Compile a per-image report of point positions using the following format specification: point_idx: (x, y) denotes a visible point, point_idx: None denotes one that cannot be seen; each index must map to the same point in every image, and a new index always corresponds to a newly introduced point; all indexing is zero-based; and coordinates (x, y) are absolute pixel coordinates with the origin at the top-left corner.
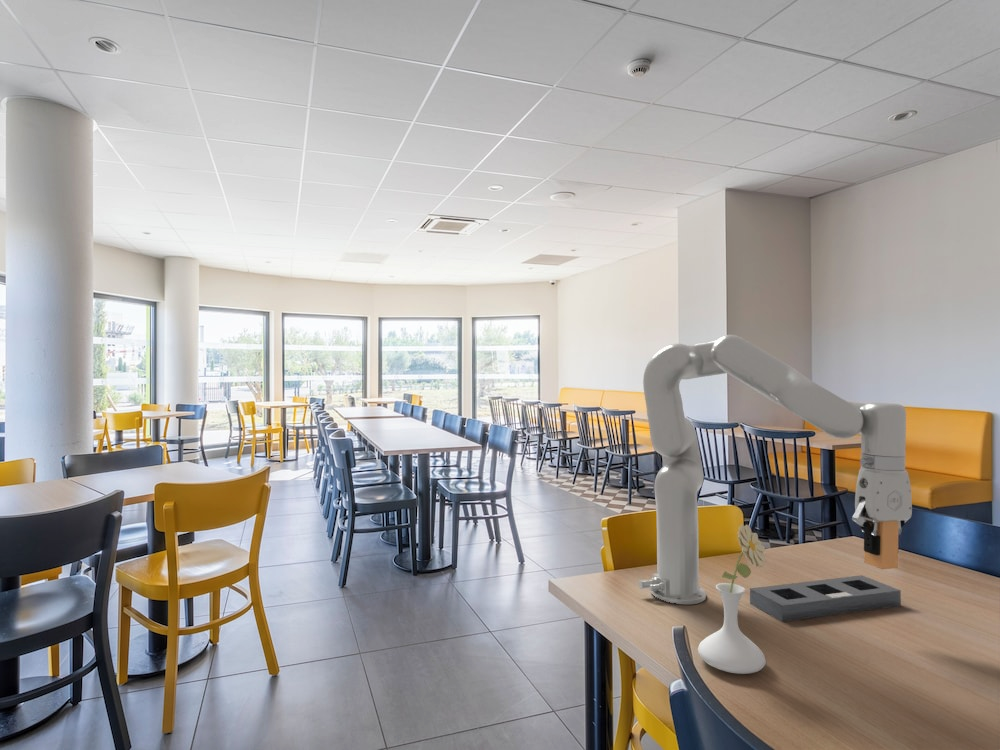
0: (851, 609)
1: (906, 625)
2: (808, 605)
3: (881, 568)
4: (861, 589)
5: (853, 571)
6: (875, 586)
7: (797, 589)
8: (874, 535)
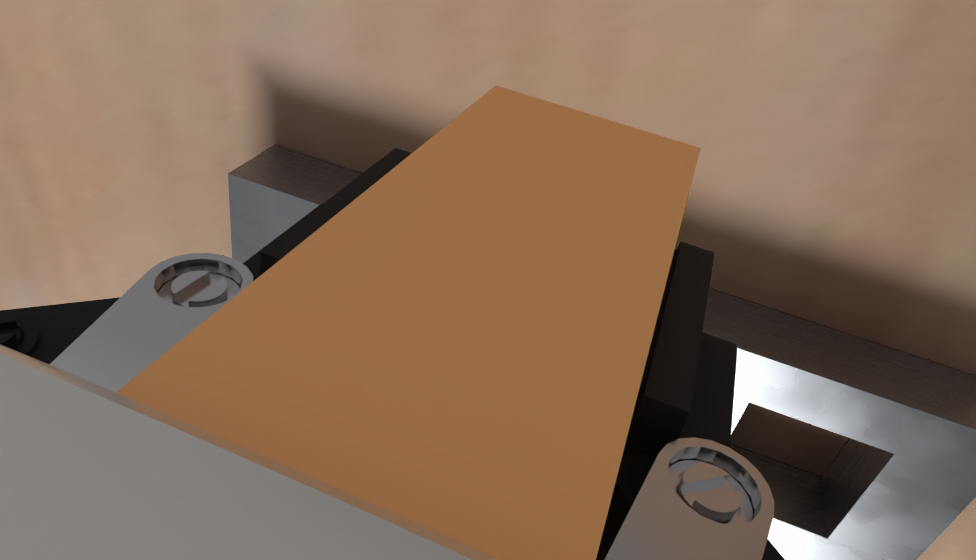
0: None
1: (465, 13)
2: (827, 366)
3: (697, 156)
4: None
5: None
6: None
7: None
8: (741, 458)
